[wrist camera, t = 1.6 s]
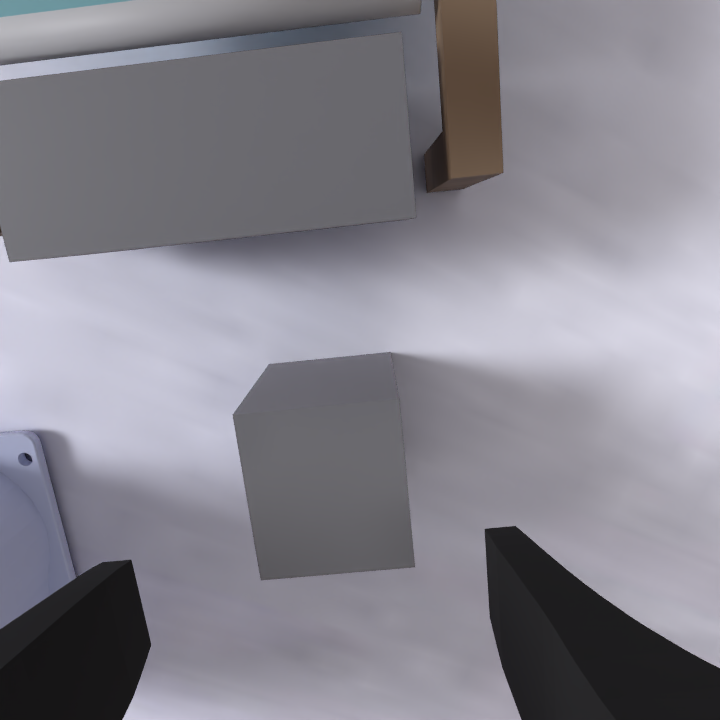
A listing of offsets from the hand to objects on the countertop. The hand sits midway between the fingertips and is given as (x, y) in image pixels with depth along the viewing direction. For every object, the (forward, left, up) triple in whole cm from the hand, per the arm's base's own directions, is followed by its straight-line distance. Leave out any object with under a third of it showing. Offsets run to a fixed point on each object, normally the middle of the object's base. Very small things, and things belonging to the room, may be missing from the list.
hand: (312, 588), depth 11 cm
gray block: (0, 0, -10) cm, 10 cm away
